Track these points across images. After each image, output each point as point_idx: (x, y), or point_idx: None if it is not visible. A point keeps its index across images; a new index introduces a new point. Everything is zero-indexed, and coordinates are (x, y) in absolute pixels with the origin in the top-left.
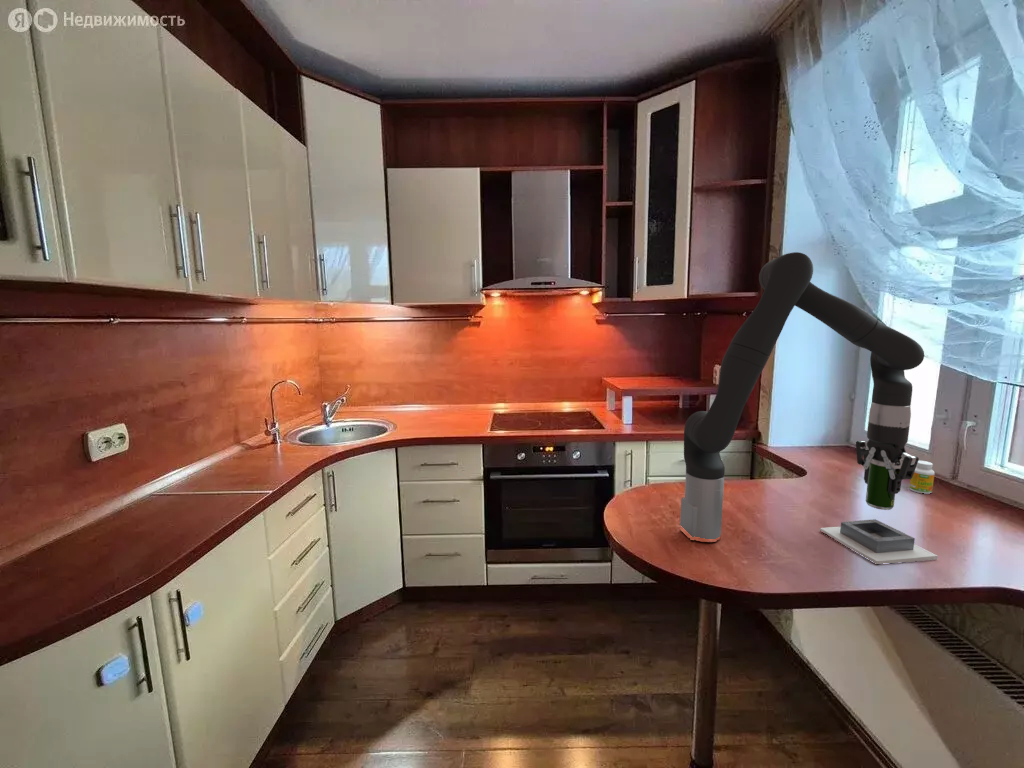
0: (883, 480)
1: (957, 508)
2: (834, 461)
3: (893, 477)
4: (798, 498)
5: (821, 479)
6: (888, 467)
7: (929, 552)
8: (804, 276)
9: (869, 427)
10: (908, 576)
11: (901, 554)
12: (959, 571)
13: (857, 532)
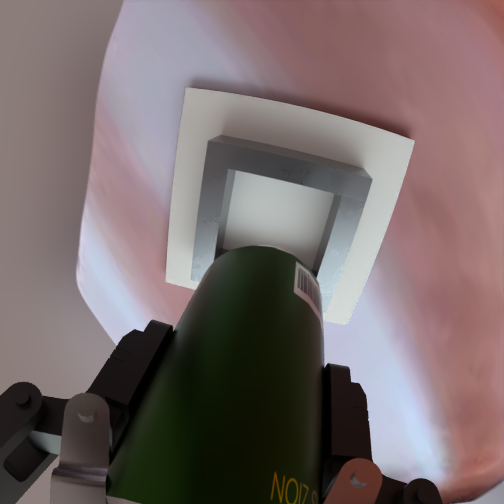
0: (162, 378)
1: None
2: (484, 471)
3: (80, 405)
4: None
5: (497, 420)
6: (74, 483)
7: (181, 282)
8: None
9: None
10: (129, 119)
11: (192, 201)
12: (123, 261)
13: (295, 157)
